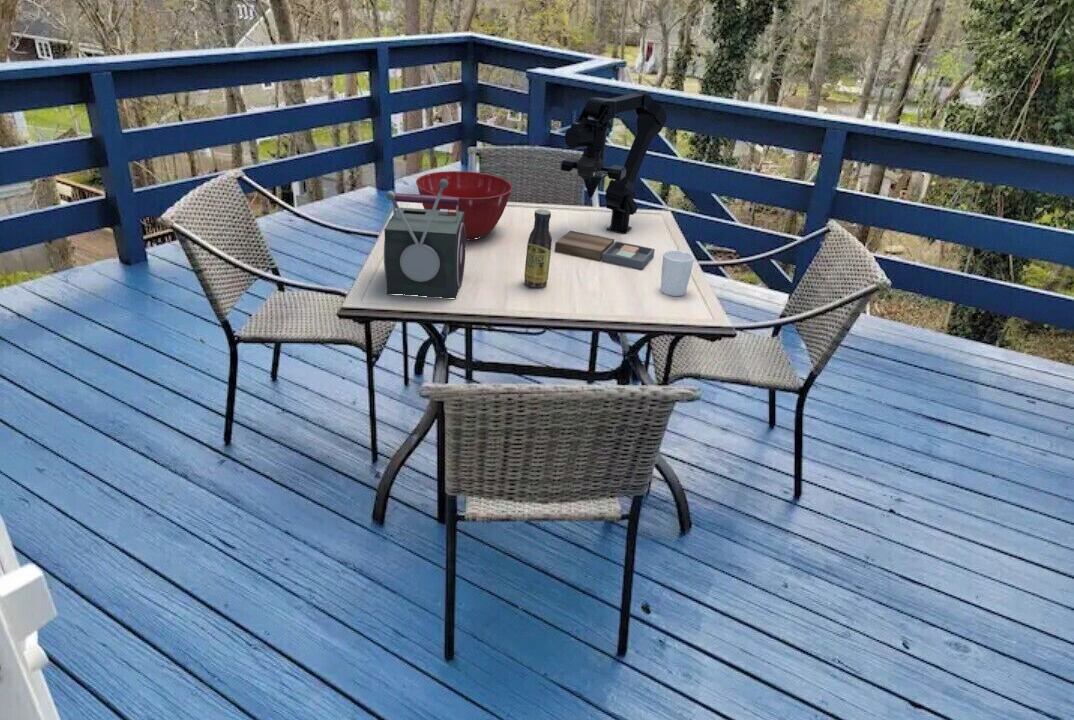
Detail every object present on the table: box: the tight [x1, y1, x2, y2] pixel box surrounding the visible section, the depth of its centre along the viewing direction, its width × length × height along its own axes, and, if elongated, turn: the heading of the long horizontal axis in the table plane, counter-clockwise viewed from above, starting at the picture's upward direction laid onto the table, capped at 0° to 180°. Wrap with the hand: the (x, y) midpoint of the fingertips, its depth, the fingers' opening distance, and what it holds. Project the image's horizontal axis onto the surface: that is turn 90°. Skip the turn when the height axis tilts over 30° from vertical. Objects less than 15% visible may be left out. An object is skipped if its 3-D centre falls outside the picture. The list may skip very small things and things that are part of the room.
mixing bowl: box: [415, 170, 513, 241], centre depth 225 cm, size 28×28×16 cm
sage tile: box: [615, 250, 636, 259], centre depth 214 cm, size 4×4×2 cm
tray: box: [601, 240, 656, 271], centre depth 217 cm, size 12×12×2 cm
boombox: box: [383, 179, 467, 300], centre depth 186 cm, size 18×21×30 cm
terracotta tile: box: [620, 245, 639, 257], centre depth 218 cm, size 4×4×2 cm
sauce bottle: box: [524, 208, 553, 289], centre depth 192 cm, size 6×6×20 cm
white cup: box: [659, 249, 695, 297], centre depth 196 cm, size 8×8×10 cm
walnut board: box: [554, 230, 615, 262], centre depth 221 cm, size 12×14×3 cm
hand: (590, 197), depth 225 cm, fingers closed
